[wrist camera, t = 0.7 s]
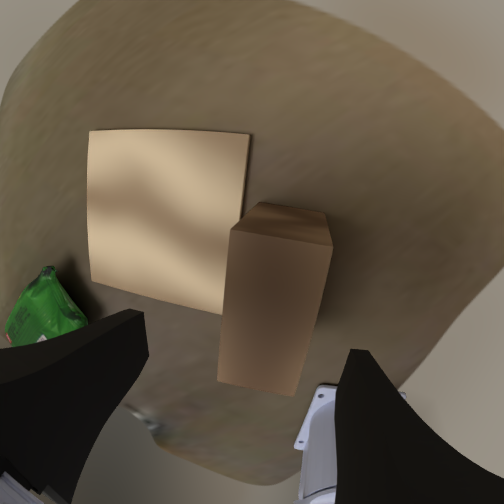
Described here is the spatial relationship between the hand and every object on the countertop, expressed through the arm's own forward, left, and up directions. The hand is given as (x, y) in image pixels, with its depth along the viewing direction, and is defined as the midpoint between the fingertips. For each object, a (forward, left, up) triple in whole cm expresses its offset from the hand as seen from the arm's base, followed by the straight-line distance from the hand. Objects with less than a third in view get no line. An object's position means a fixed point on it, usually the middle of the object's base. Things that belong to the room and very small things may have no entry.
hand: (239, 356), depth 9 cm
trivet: (+1, +8, -10) cm, 13 cm away
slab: (-1, -1, -10) cm, 10 cm away
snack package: (-11, +21, -10) cm, 26 cm away
